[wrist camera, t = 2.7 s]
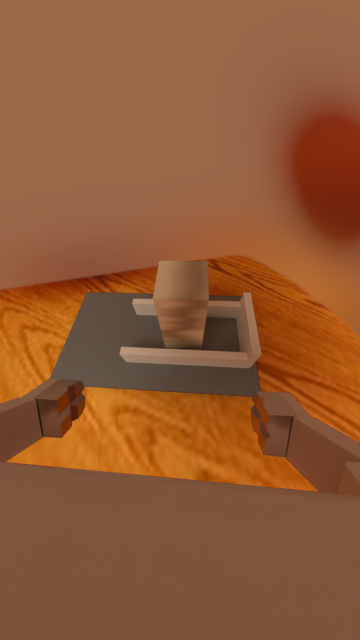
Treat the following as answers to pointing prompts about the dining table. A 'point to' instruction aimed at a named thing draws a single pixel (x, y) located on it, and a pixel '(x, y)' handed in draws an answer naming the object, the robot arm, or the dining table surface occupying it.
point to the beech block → (182, 303)
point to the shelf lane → (161, 347)
